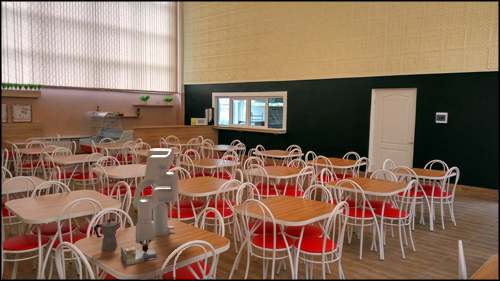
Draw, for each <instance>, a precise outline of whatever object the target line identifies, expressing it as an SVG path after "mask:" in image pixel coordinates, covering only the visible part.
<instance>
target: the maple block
mask: <svg viewBox="0 0 500 281" xmlns="http://www.w3.org/2000/svg"><path fill="white" fill-rule="evenodd" d="M136 250H137V249H136V248H135V246H132V247H127V248H124V251H125V252H126V254H127V258H129V257H134V256H136Z"/></svg>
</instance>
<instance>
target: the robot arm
mask: <svg viewBox="0 0 500 281" xmlns="http://www.w3.org/2000/svg"><path fill="white" fill-rule="evenodd" d="M146 156H147V160H146V163H145V164H146V166H145V171H144V179H142V181H140V183H139V184H138V185H137V186H136V188H135V190H134V193H133V201H132V204H133V208H135V209H137V219H138V220H137V222H136V225H135V226H136V227H135V236H134V237H135V244H140V245H142V246H141V249H142V250H141V251H144V252H147V250H149V245H150V243H151V242H154V241H155V237H165V236H167V235H169V234H170V233H171V231H170V230H175V226H172V225H170V226H169V225H168V222H169V220H168V219H169V218H168V214H169V213H168V205H167V204H166V203H176V202H177V200H178V199H179V181H178V180H179V178H178V175H177V173H175V172H169V171H168V172H167V170H169V169H170V168H171V166H172V164H173V162H174V160H175V151H174V150H173V149H171V148H169V149H168V148H150V149H148V150H147V153H146ZM152 185H155V186H156V188H154V189H153V190H152V191H151V195H141V193H142V191H143V190H145V188H148V187H149V186H152ZM152 214H153V215H152Z"/></svg>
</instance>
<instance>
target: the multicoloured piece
mask: <svg viewBox="0 0 500 281" xmlns="http://www.w3.org/2000/svg"><path fill="white" fill-rule="evenodd" d="M120 257H121V259H122V260H123V263H124V265H125V266H128V265H132V264H137V263H138V264H139V263H143V262H149V261H156V260H159V258H158V255H157V252H156V250H155V249H148V250H147V252H144V251H143V250H141V251H140V250H139V249H136V256H134V257H129V258H127V254H126V252H125V248H124V247H123V245H120Z"/></svg>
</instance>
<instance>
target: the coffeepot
mask: <svg viewBox="0 0 500 281" xmlns="http://www.w3.org/2000/svg"><path fill="white" fill-rule="evenodd" d="M120 225H121V222H117V221H111V218H108V219H107V221H106V222H102V223H99V224H95V226H93V230H94V233H95V235H96V237H97V238H101V237H102V236H103V238H102V243H101V249H102V250H104V251H114V250H115V249H117V248H118V242H117V237H116V234H117V229H118V228H119V226H120ZM98 228H101V232H102V235H100V233H99V232H98Z"/></svg>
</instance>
